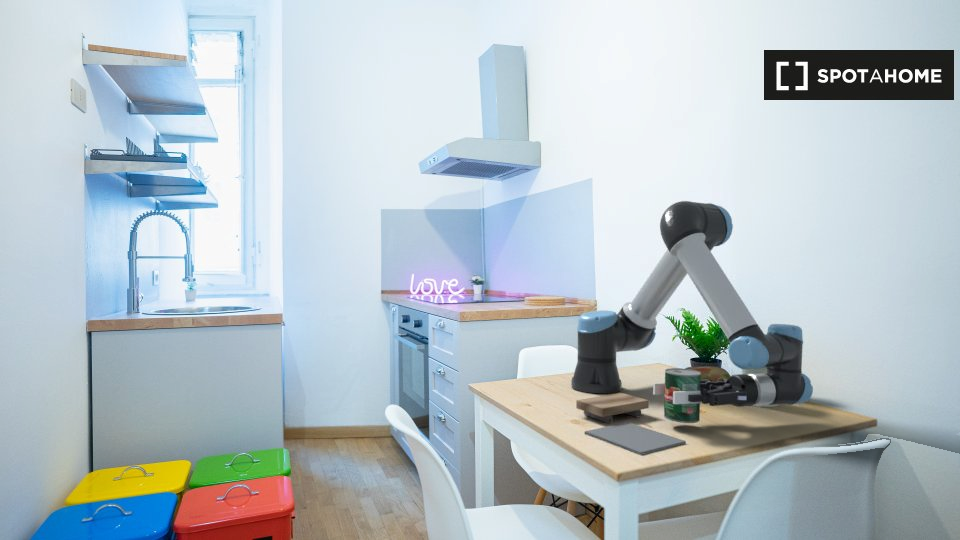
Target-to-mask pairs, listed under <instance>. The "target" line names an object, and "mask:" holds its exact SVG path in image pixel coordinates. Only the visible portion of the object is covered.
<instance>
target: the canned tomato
mask: <svg viewBox="0 0 960 540" xmlns="http://www.w3.org/2000/svg"><path fill="white" fill-rule="evenodd" d="M700 375H701V373H700V372H698V371H695V370H690V369H685V368H676V367H675V368H674V367H673V368H666V369H665V370H664V383H665V395H664V404H663V405H664V406H663V407H664V408H663V412H664V413H663V417H664V418H665V419H666V420H669V421H671V422H676V423H681V424H696V423H698V422H700V416H701V415H700V414H701V412H700V410H701V408H700V407H701V403H693V404H673V391H700Z"/></svg>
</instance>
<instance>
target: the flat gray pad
mask: <svg viewBox="0 0 960 540" xmlns="http://www.w3.org/2000/svg"><path fill="white" fill-rule="evenodd" d="M584 434H585V435H588V436H590V437H592V438H595V439H599V440H601V441H603V442H606V443H609V444H611V445H613V446H617V447H619V448H621V449H624V450H626V451H629V452H632V453H635V454H638V455H641V456H642V455H645V454H646V455H647V454H649V453H653V452H657V451H662V450H665V449H669V448H673V447H677V446H681V445H684V444H686V442H687V441H686V440H683V439H681V438H678V437H674V436H671V435H668V434H666V433H663V432H659V431H656V430H653V429H649V428H647V427H645V426H641V425H637V424H634V423H632V422H624V423H618V424H614V425H609V426H604V427H599V428H594V429H589V430H585V431H584ZM680 444H681V445H680ZM676 445H677V446H676Z"/></svg>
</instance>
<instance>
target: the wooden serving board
mask: <svg viewBox="0 0 960 540" xmlns="http://www.w3.org/2000/svg"><path fill="white" fill-rule="evenodd" d="M649 403H650V400H649V399H645V398H641V397H638V396H634V395H630V394H627V393H623V392H617V393H611V394H607V395H602V396H601V395H600V396H595V397H590V398H589V397H588V398H582V399H576V405H575V406H576V409H578V410H580V411H582V412H583V415H584V416H586V417H587V416H588V417H590V418H593V419H597V420H598V421H602V422H605V423H608V424H611V423H613V420H614V416H615V415H619V414H621V415H622V414H626V415H629V416H632V417H636V418H640V417H641V416H642V410H645V409H647V410H648V409H649V408H650V407H649Z"/></svg>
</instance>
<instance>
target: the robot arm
mask: <svg viewBox="0 0 960 540" xmlns="http://www.w3.org/2000/svg"><path fill="white" fill-rule="evenodd" d="M733 227H734V225H733V220H732V216H731V215H730V213H729V212H728V211H727V209H725V208H724V207H723V206H721V205H718V204H714V203H712V202H711V203H710V202H708V203H705V202H695V201H690V200H682V201H677V202H674V203H672V204H671V205H670V206H669V207H667V208H666V209H665V211H664V212H663V213H662V216H661V218H660V223H659V228H660V229H659V230H660V236H661V238H662V240H663V243H664V245H665V247H666V248H667V249H666V250H665V252H664V253H663V255H662V257H661V258H660V259H659V261H658V263H657V264H656V266H655V267H654V268H653V270H652V272H651V273H650V274H649V276H648V277H647V278H646V280H645V282H644V283H643V285H642V287H641V288H640V289H639V291H638V292H637V294H636V295H635V297H634V298H633V299H632V301H630V302H625V303H624V304H623V305H622V307H621V308H620V310H619V312H618V313H617V312H615V311H613V310H592V311H587V312H584V313H582V314H581V315H579V317H578V321H577V322H578V325H577V362H576V366H575V369H574V373H573V376H572V378H571V385H570V386H571V389H573V390H576V391H578V392H583V393H584V392H585V393H591V394H616V393H620V392H621V391H622V389H623V383H622V380H621V379H620V375H619V374H620V372H619V369H618V367H617V353H619V352H620V353H621V352H622V353H623V352H633V351H636V352H637V351H640V350H642V349H645V348H647V347H649V346H650V345H651V344H652V343H653V342H654V340H655V337H656V335H657V334H656V329H657V328H656V326H657V322H658V321H657V317H658V315H660V314H659V313H660V312H661V311H662V309H663V308H664V307H665V306H666V304H667V303H668V302H669V300H670V298H671V297H672V296H673V295H674V293H675V292H676V291H677V288H678V287H679V286H680V285H681V284H682V282H683V280H684V279H685V278H686V276H687V275H688V276H689V278H690V280H691V281H692V283H693V285H694V286H695V288H696V290H697V291H698V293H699V294H700V296H701V297H702V299H703V301H704V302H705V304H706V306H707V307H708V309H709V311H710V312H711V314H712V315H713V317H714V319H715V320H716V323H717V325H719V327H720V328H721V330H722V332H723V333H724V335H725V336H726V337H725V338H726V339H727V340H728V341H729V342H728V343H730V344H729V346H728V357H729V359H730V361H731V362H732V364H733V365H734V366H735V367H737V368H739V369H741V370H742V369H753V370H754V369H755V370H756V369H761V368H764V367H767V374H742V373H741V374H731V375H730V377H729V378H728V380H727V381H726V383H725V382H724V381H717V382H712V380H711V379H709V380H700V391H673V404H693V403H700V404H704V405H708V404H709V406H711V407H715V406H717V407H718V406H723V405H724V406H725V405H733V406H735V407H738V408H739V407H740V408H741V407H757V408H759V409H761V408H762V407H761V405H778V406H779V405H781V406H782V405H787V406H792V405H800V404H804V403H807V402H809V400H810V399H811V398H812V397H813V392H814V387H813V385H812V384H811V383H812V382H811V379H810V378H809V377H808V376H807V375H806V374H804V373H803V371H802V365H803V345H804V339H803V330H802V328H801V327H800V326H799V325H795V324H786V323H771V324H769V325H768V327H767V332H766V334H765V333H764V331H763V330H762V329H761V327H760V325H759V324H758V323H757V321H756V320H755V318H754V317H753V315H752V313H751V312H750V311H749V309H748V307H747V305H745V303H744V301H743V300H742V298H741V297H740V295H739V293H738V291H737V290H736V289H735V287H734V285H733V284H732V283H731V281H730V279H729V277H728V276H727V275H726V273H725V272H724V270H723V268H722V267H721V265H720V264H719V262H718V260H717V259H716V258H715V256H714V255H713V253H712V250H713V249H714V247H720V246H721V245H725V243H727V241H728V240H729V239H730V238H731V235H732V232H733ZM652 395H653V396H661V395H664V396H665V382H653V383H652Z"/></svg>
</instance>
